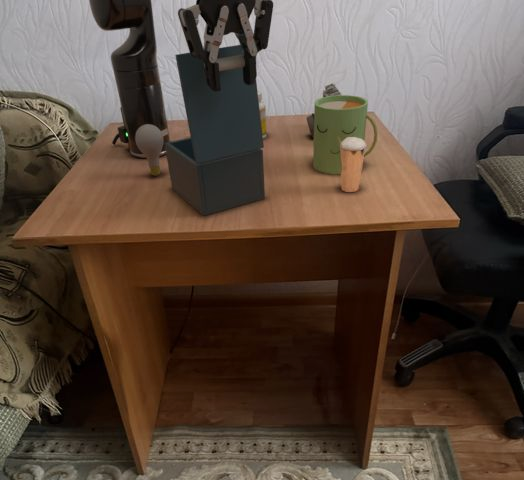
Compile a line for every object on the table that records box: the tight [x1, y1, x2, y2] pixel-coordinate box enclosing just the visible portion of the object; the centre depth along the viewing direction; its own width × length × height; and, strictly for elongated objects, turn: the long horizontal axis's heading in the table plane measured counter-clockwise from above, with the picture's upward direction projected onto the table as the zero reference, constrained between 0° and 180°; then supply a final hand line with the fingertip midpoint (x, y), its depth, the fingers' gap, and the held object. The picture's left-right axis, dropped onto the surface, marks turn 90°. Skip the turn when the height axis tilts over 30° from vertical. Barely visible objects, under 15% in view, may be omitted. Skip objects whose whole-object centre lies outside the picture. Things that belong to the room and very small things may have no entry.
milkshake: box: [338, 136, 367, 193], centre depth 89 cm, size 5×5×10 cm
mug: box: [312, 94, 378, 175], centre depth 97 cm, size 13×10×12 cm
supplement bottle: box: [257, 90, 268, 139], centre depth 114 cm, size 5×5×10 cm
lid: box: [174, 44, 265, 164], centre depth 76 cm, size 15×13×5 cm
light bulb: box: [135, 124, 164, 177], centre depth 98 cm, size 6×6×10 cm
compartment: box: [165, 136, 266, 217], centre depth 90 cm, size 15×13×9 cm
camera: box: [306, 83, 342, 139], centre depth 113 cm, size 16×9×10 cm, turn 3°
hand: (232, 86), depth 73 cm, fingers closed on lid, 5 cm apart
